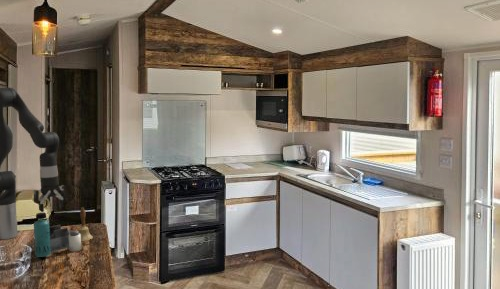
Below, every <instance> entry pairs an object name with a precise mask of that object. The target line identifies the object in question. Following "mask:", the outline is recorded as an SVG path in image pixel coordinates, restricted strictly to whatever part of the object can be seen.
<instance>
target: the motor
mask: <svg viewBox="0 0 500 289" xmlns="http://www.w3.org/2000/svg"><path fill="white" fill-rule="evenodd" d="M49 229H50V240H51V241H50V246H51V253H54V252H57V251H62V250H65V248H66V249H69V236H68V235H69V234H70V232H71V231H72V230H70V229H69V228H68V227H63V228H62V226H61V224H57V225H52V226H49Z"/></svg>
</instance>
